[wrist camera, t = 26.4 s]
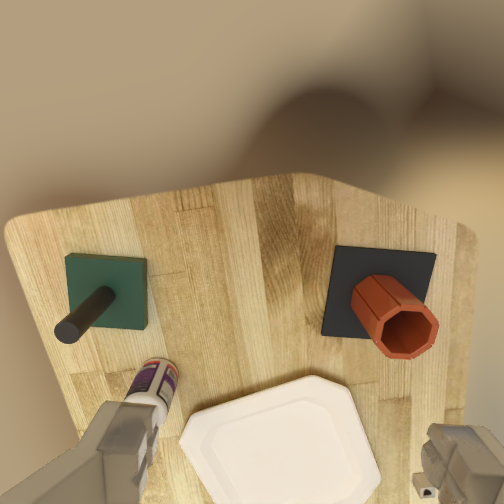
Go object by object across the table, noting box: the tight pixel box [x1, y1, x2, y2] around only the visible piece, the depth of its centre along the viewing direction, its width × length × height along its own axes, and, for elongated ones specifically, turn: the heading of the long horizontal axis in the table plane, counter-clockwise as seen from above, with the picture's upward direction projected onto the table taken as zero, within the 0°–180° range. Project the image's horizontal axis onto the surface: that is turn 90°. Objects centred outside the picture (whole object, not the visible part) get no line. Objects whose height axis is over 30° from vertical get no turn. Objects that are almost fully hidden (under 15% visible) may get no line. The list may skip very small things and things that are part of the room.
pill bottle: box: [123, 358, 179, 428], centre depth 39 cm, size 5×5×10 cm
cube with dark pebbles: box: [413, 473, 435, 499], centre depth 48 cm, size 2×2×2 cm
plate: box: [179, 375, 381, 504], centre depth 47 cm, size 25×25×2 cm
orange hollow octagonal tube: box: [350, 274, 439, 360], centre depth 36 cm, size 6×6×8 cm
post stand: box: [54, 253, 148, 344], centre depth 35 cm, size 9×9×10 cm
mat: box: [321, 245, 437, 339], centre depth 40 cm, size 12×12×1 cm
